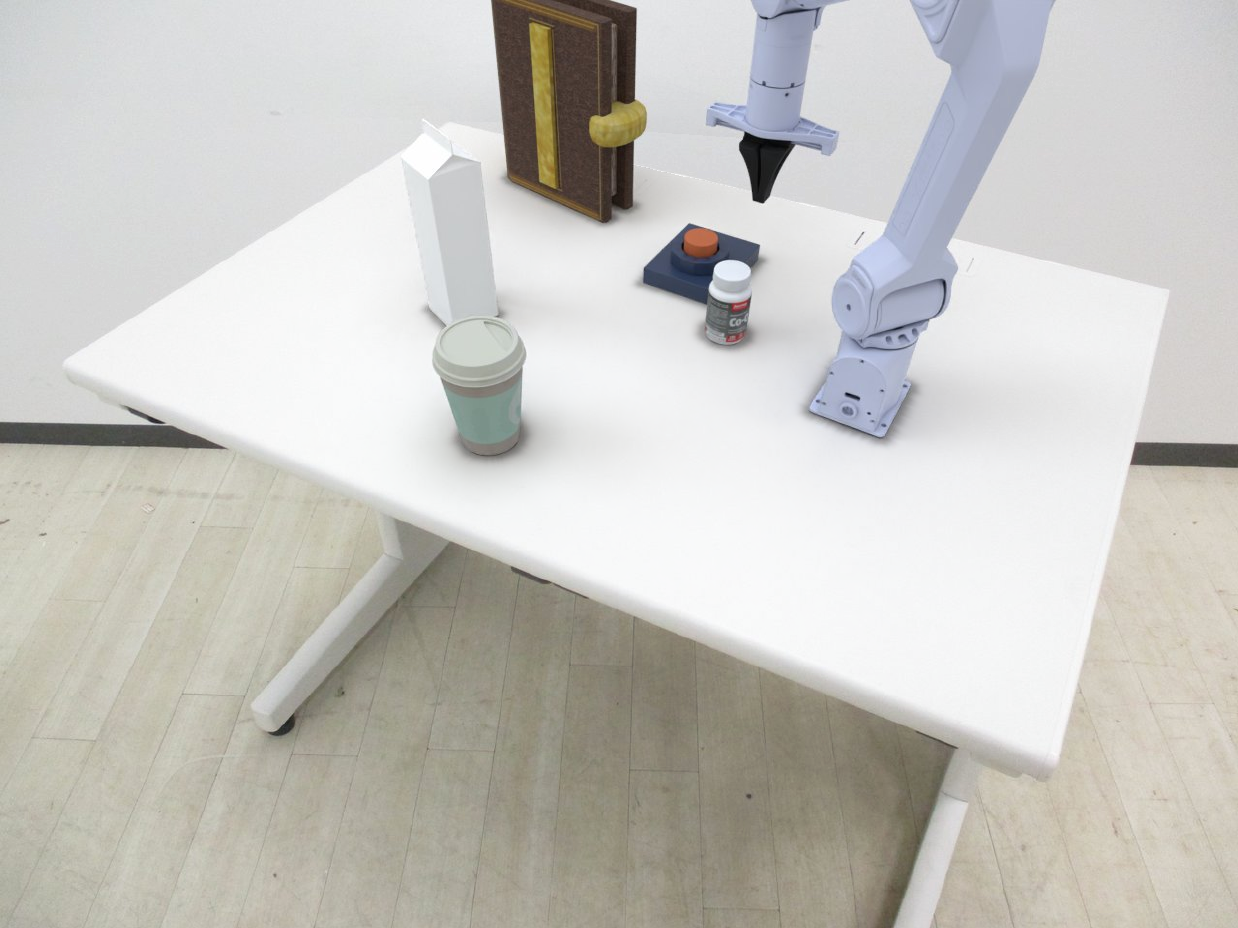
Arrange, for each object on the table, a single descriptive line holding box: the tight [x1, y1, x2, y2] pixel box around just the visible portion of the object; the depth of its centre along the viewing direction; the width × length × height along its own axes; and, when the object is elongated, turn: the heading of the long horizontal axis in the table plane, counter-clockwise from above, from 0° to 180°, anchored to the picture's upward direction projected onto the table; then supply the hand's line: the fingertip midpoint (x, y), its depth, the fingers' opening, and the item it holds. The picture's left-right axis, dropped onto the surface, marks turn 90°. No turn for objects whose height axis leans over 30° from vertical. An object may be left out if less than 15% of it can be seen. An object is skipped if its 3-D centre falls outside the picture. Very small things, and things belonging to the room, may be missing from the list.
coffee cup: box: [431, 316, 527, 456], centre depth 80 cm, size 8×8×12 cm
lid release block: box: [642, 222, 761, 305], centre depth 104 cm, size 12×10×4 cm
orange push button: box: [684, 228, 718, 257], centre depth 101 cm, size 4×4×2 cm
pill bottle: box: [704, 260, 753, 346], centre depth 93 cm, size 5×5×8 cm
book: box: [490, 0, 648, 224], centre depth 109 cm, size 22×8×25 cm, turn 50°
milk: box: [400, 118, 500, 327], centre depth 91 cm, size 6×6×22 cm
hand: (761, 198), depth 97 cm, fingers closed
